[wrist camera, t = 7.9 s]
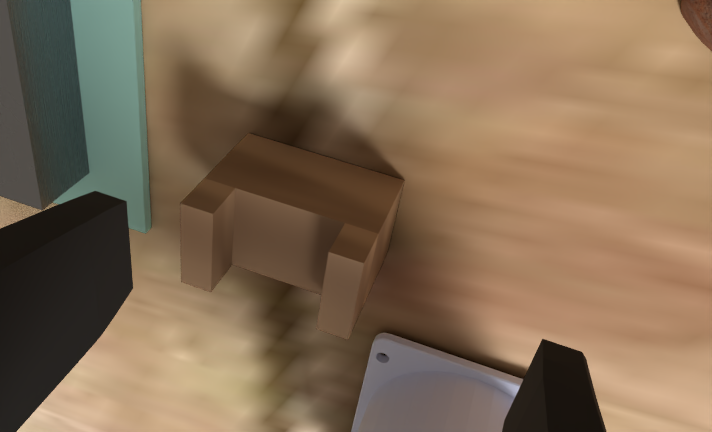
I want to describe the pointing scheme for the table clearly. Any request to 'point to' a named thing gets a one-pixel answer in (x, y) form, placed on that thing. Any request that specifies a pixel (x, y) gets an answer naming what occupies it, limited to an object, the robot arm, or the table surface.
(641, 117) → the table surface
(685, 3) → the brown piece
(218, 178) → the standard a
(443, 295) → the table surface
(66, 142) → the rail
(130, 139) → the mat
